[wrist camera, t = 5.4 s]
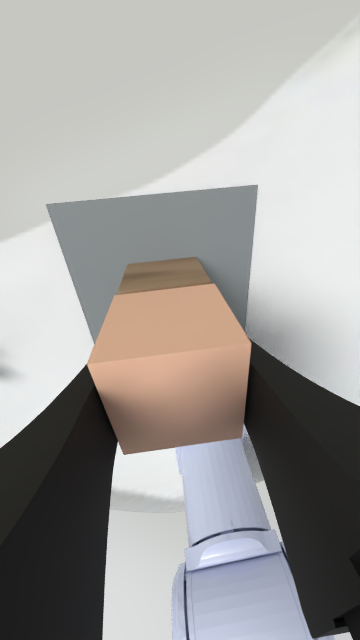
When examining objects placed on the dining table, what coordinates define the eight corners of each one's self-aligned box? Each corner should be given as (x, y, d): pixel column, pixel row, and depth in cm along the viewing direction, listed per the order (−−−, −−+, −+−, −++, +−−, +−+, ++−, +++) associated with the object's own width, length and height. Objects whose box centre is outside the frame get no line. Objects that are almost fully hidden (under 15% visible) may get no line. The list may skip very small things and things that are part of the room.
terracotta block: (215, 359, 12) (242, 437, 8) (134, 370, 12) (123, 454, 8) (214, 283, 10) (251, 343, 6) (114, 295, 10) (86, 364, 6)
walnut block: (198, 315, 17) (211, 353, 13) (139, 322, 17) (134, 363, 13) (196, 256, 15) (211, 281, 11) (127, 263, 14) (117, 291, 10)
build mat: (241, 346, 19) (243, 348, 19) (102, 363, 19) (102, 366, 18) (255, 184, 13) (257, 185, 13) (48, 204, 12) (45, 204, 12)
